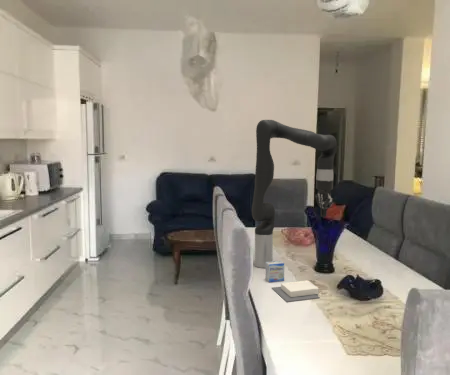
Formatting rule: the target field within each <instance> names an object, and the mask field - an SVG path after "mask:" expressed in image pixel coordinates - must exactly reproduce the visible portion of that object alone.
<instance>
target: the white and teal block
mask: <svg viewBox="0 0 450 375" xmlns="http://www.w3.org/2000/svg"><path fill="white" fill-rule="evenodd" d="M280 287H281V289H282V290H283V291H284V292H285V293H287V294H288V295H289V296H290V297H299V296H307V295H315V294H316V295H319V294H320V292H319V291H320V288H319V287H318V286H316V285H315V284H314V283H312V282H311V281H309V280H301V281H300V280H299V281H291V282H282V283H280Z"/></svg>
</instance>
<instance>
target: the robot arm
mask: <svg viewBox="0 0 450 375" xmlns="http://www.w3.org/2000/svg"><path fill="white" fill-rule="evenodd" d="M255 132H256V134H255V136H256V138H255V139H256V156H255V157H256V159H255V160H256V161H255V162H256V163H255V173H254V178H255V179H254V189H253V190H254V191H253V198H252V203H251V216H252V219H253V220H254V221H255V222H261V223H260V224H259V225H257V226H256V227H255V229H254V266H255V267H256V268H261V269H265V265H266V264H265V262H273V254H274V253H273V251H274V250H273V247H274V245H273V244H274V242H273V241H274V240H273V237H274V236H273V235H274V229H275V222H276V221H275V220H276V218H275V217H276V211H275V210H276V209H275V206H274V204H273V203H272V202H269V201H267V202H264V200H265V195H266V193H267V191H268V189H269V187H270V186H271V184H272V182H273V181H274V177H275V174H274V173H275V163H274V160H273V156H272V154H271V147H270V146H271V139H276V138H277V139H285V140H288V141H290V142H293V143H294V144H297V145H301V146H304V147H310V148H312V149H314V150H318V151H321V152H320V156H319V157H318V158H317V166H316V167H317V169H316V178H315V182H316V183H315V189H316V190H317V194H315V195H314V197H315V201H316V203H317V206H318V207H319V208H320V213H319V214H320V217H323V218H325V217H326V216H327V209H330V207H331V205H332V203H333V201H334V198H333V197H332V196H331V195H332V194H331V191H332V190H333V189H334V159H335V155H336V151H337V148H338V146H337V145H338V144H337V139H336V137H335V136H334V135H332V134H320V133H316V132H315V131H311V130H307V129H304V128H303V129H301V128H298V127H297V128H296V127H292V126H290V125H289V126H288V125H285V124H284V123H281V122H279V121H276V120H274V119H261V120H259V122H258V123H257V124H256V128H255Z"/></svg>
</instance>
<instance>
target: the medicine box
mask: <svg viewBox="0 0 450 375" xmlns="http://www.w3.org/2000/svg"><path fill="white" fill-rule="evenodd" d="M265 264H266V265H265V268H264V270H265V273H264V274H265V281H267V282H268V283H277V282H284V281H285V262H283V261H282V260H277V261H274V260H273V261H272V262H265Z"/></svg>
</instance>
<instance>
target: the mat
mask: <svg viewBox="0 0 450 375" xmlns="http://www.w3.org/2000/svg"><path fill="white" fill-rule="evenodd" d="M271 290H272V291H274V292H275V293H276V294H277V295H278V296H279V297H280V298H281V299H283V300H284V302H285V303H291V302H293V303H294V302H300V301H307V300H309V301H310V300H315V299H320V296H319V295H318V294H315V295H307V296H299V297H290V296H289V295H288V294H287V293H285V292H284V291H283V290H282V289H281V286H274V287H271Z"/></svg>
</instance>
